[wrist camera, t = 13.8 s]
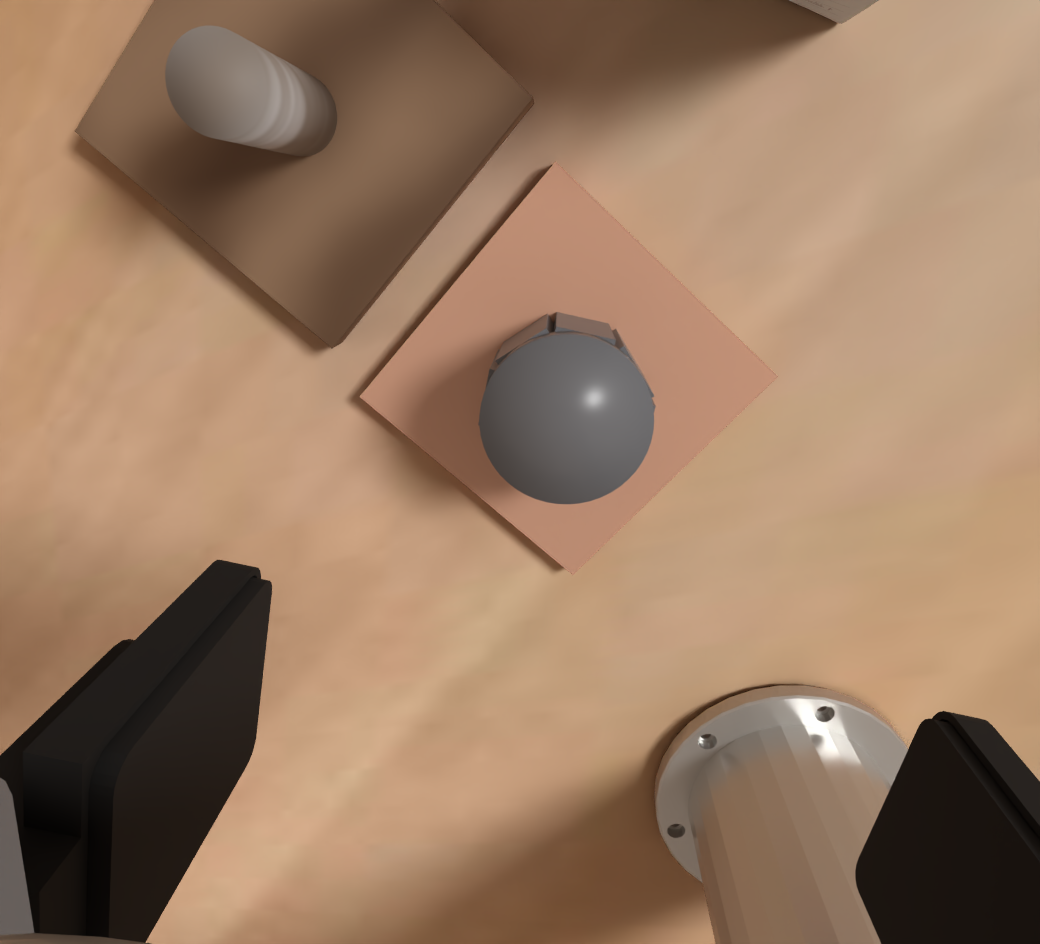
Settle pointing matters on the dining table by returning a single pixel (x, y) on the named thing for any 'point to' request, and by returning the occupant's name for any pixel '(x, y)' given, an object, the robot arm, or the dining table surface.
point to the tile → (547, 290)
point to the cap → (566, 411)
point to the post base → (343, 191)
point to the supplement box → (836, 8)
